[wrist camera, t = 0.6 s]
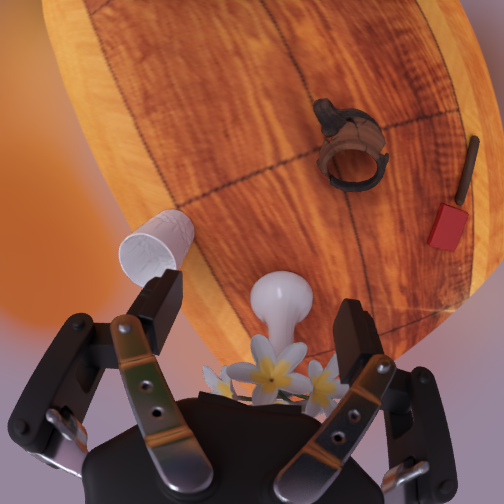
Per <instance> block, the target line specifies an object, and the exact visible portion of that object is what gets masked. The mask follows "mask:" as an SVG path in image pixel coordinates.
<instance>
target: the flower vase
mask: <svg viewBox="0 0 504 504" xmlns="http://www.w3.org/2000/svg"><path fill="white" fill-rule="evenodd" d="M250 303H251V307H252V310H253V312H254V314H255V315H256V316H257V317H258V318H259V320H261V321H262V322H264V323H265V324H267V327H268V333H269V340H268V339H267V338H266V337H264V336H263V335H260V334H257V335H254V336H253V337H252V339H251V345H250V346H251V353H252V356H253V358H254V361H255V363H256V366H255V365H254V364H252V363H247V362H240V363H235V364H232V365H230V366H227V365H224V366H223V368H222V370H221V374H220V377H221V379H220V378H219V377H218V376H217V375H216V374H215V373H214V372H213V371H212V369H210V368H209V367H208V366H204V367H203V375H204V379H205V381H206V383H207V385H208V386H209V387H210V388H211V389H212V390H215V391H217V392H210V393H211V394H216V395H222V396H226V397H228V398H231V399H233V400H236V401H237V400H242V401H252V403H253V404H252V405H249V406H257V405H268V404H287V405H300V406H302V413H305V414H307V415H309V416H311V417H316V416H319V415H321V414H322V413H323V412H324V413H325V415H326V417H328V416H329V415H330V413H331V412H332V411H333V410H334V408H335V407H336V406H337V402H336V401H334V400H333V399H334V398H335V399H342V398H343V396H344V395H345V394H346V392H347V391H348V390H349V384H341V383H340V379H334V378H335V377H337V376H338V374H339V369H338V362H337V356H336V353H334V355H333V356H332V358H331V359H330V361H329V363H328V364H327V366H326V367H325V369H324V370H323V368H322V366H321V364H320V363H319V362H318V361H316V360H312V361H310V363H309V365H308V374H309V378H310V380H309V379H308V378H307V377H306V376H304V375H302V374H299V373H296V371H295V368H296V367H297V366H298V365H299V364H300V363H301V361H302V360H303V359H304V357H305V355H306V353H307V345H306V344H304V343H302V342H298V343H295V344H293V340H294V329H295V325H296V324H298V323H299V322H301V321H302V320H303V319H304V318H305V317H306V316H307V315H308V313H309V312H310V310H311V307H312V304H313V292H312V289H311V287H310V285H309V284H308V282H307V281H306V280H305V279H304V278H302V277H301V276H300V275H297V274H295V273H293V272H288V271H275V272H271V273H268V274H266V275H264V276H263V277H261V278H260V279H259V280H258V281H257V282H256V283H255V284H254V286H253V288H252V290H251V294H250ZM231 379H233V380H235V381H239V382H244V383H252V384H256V386H255V388H254V390H253V393H252V397H245V396H237V394H236V393H235V390H234V388H233V385H232V380H231ZM332 379H334V380H332ZM308 393H310V396H306V395H303V394H308ZM294 395H295V396H297V397H300V398H303V399H305V400H301V401H296V402H293V401H291V400H290V399H288V398H290V397H292V396H294ZM276 399H283V400H276Z"/></svg>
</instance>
